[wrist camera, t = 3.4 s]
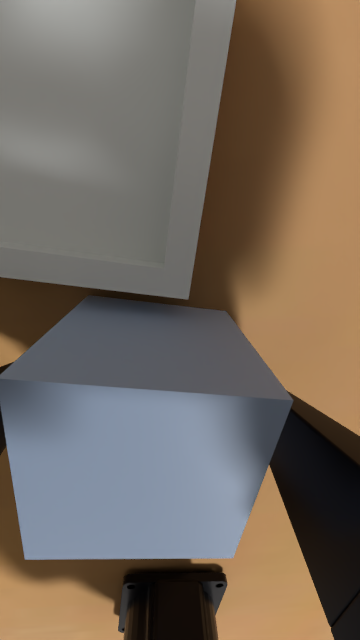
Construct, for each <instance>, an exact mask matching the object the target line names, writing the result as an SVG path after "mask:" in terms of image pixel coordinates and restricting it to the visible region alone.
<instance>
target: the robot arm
mask: <svg viewBox="0 0 360 640" xmlns="http://www.w3.org/2000/svg"><path fill="white" fill-rule="evenodd" d="M13 363H14V362H12V363H9V364H7V365H4V366H1V367H0V374H2V373H3V372H4V371H5V370H6V369H7V368H8V367H9V366H10V365H12V364H13ZM286 391H287V390H286ZM287 392H288V391H287ZM288 394H289V395H290V396H291V398H292V399H293V400H294V401H293V403H292V406H291V408H290V411H289V414H288V416H287V419H286V421H285V424H284V427H283V429H282V432H281V434H280V437H279V440H278V442H277V445H276V447H275V450H274V453H273V455H272V458H271V460H270V463H269V465H270V468H271V470H272V473H273V476H274V478H275V481H276V484H277V486H278V489H279V492H280V494H281V497H282V500H283V502H284V505H285V508H286V510H287V513H288V516H289V519H290V521H291V524H292V527H293V529H294V532H295V535H296V537H297V540H298V543H299V545H300V548H301V551H302V553H303V556H304V559H305V561H306V564H307V567H308V569H309V572H310V575H311V577H312V580H313V583H314V586H315V588H316V591H317V594H318V596H319V599H320V602H321V604H322V607H323V610H324V612H325V615H326V618H327V620H328V623H329V625H330V627H331V632H332V634H333V637H334V640H360V436H358V435H357V434H355V433H354V432H352V431H350V430H349V429H347V428H346V427H344V426H342V425H341V424H339V423H338V422H336V421H334V420H333V419H331V418H330V417H328V416H326V415H325V414H323V413H322V412H320V411H318V410H317V409H315V408H314V407H312V406H311V405H309V404H307V403H306V402H304V401H303V400H301V399H299V398H298V397H296V396H295V395H293V394H291V393H290V392H288ZM6 445H7V444H6V437H5V431H4V425H3V419H2V412H1V406H0V455H1V453H2V452H3V450H4V449H5V447H6ZM226 587H227V579H226V575H225V574H224V573H132V574H127V575H125V576H124V579H123V588H122V598H121V607H120V617H119V626H118V631H119V632H122V633H124V640H218V633H217V626H216V618H215V615H216V612H217V610H218V607H219V605H220V602H221V600H222V597H223V595H224V592H225V590H226Z"/></svg>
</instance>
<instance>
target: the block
mask: <svg viewBox="0 0 360 640" xmlns="http://www.w3.org/2000/svg"><path fill="white" fill-rule="evenodd" d="M293 401H294V400H293V399H292V398H291V396H290V395H289V394H288V392H287V391H286V390H285V388H284V387H283V386H282V384H281V383H280V382H279V380H278V379H277V378H276V376H275V375H274V374H273V372H272V371H271V370H270V368H269V367H268V366H267V365H266V363H265V362H264V361H263V359H262V358H261V357H260V355H259V354H258V353H257V351H256V350H255V349H254V347H253V346H252V345H251V343H250V342H249V341H248V339H247V338H246V337H245V335H244V334H243V333H242V331H241V330H240V329H239V327H238V326H237V325H236V324H235V322H234V321H233V320H232V318H231V317H230V316H229V314H228V313H227V312H226V311H221V310H212V309H203V308H195V307H186V306H178V305H169V304H160V303H152V302H143V301H135V300H126V299H117V298H109V297H100V296H91V295H88V296H87V297H86V298H85V299H83V300H82V301H81V302H80V303H79V304H78V305H77V306H76V307H75V308H74V309H72V310H71V311H70V312H69V313H68V314H67V315H66V316H65V317H64V318H62V319H61V320H60V321H59V322H58V323H57V324H56V325H55V326H54V327H52V328H51V329H50V330H49V331H48V332H47V333H46V334H45V335H44V336H43V337H41V338H40V339H39V340H38V341H37V342H36V343H35V344H34V345H33V346H31V347H30V348H29V349H28V350H27V351H26V352H25V353H24V354H23V355H21V356H20V357H19V358H18V359H17V360H16V361H15V362H14V363H13V364H12V365H10V366H9V367H8V368H7V369H6V370H5V371H4V372H3V373H2V374H0V406H1V412H2V419H3V425H4V431H5V437H6V444H7V450H8V456H9V463H10V469H11V475H12V482H13V488H14V494H15V500H16V507H17V513H18V519H19V526H20V532H21V538H22V545H23V551H24V557H25V560H47V559H192V558H233V557H234V554H235V552H236V549H237V546H238V544H239V541H240V538H241V536H242V533H243V531H244V528H245V525H246V523H247V520H248V518H249V515H250V512H251V510H252V507H253V505H254V502H255V499H256V497H257V494H258V492H259V489H260V486H261V484H262V481H263V479H264V476H265V473H266V471H267V468H268V466H269V463H270V460H271V458H272V455H273V453H274V450H275V447H276V445H277V442H278V440H279V437H280V434H281V432H282V429H283V427H284V424H285V421H286V419H287V416H288V414H289V411H290V408H291V406H292V403H293Z"/></svg>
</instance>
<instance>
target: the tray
mask: <svg viewBox="0 0 360 640" xmlns="http://www.w3.org/2000/svg"><path fill="white" fill-rule="evenodd" d="M235 5H236V0H0V277H3V278H12V279H20V280H28V281H37V282H45V283H54V284H62V285H70V286H79V287H87V288H95V289H104V290H112V291H120V292H129V293H137V294H146V295H154V296H162V297H171V298H179V299H187V300H188V299H189V292H190V286H191V280H192V274H193V267H194V261H195V255H196V249H197V242H198V236H199V230H200V224H201V217H202V211H203V205H204V199H205V192H206V186H207V180H208V174H209V167H210V161H211V155H212V149H213V142H214V136H215V130H216V124H217V117H218V111H219V105H220V99H221V93H222V86H223V80H224V74H225V68H226V61H227V55H228V49H229V43H230V36H231V30H232V24H233V18H234V11H235Z"/></svg>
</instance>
